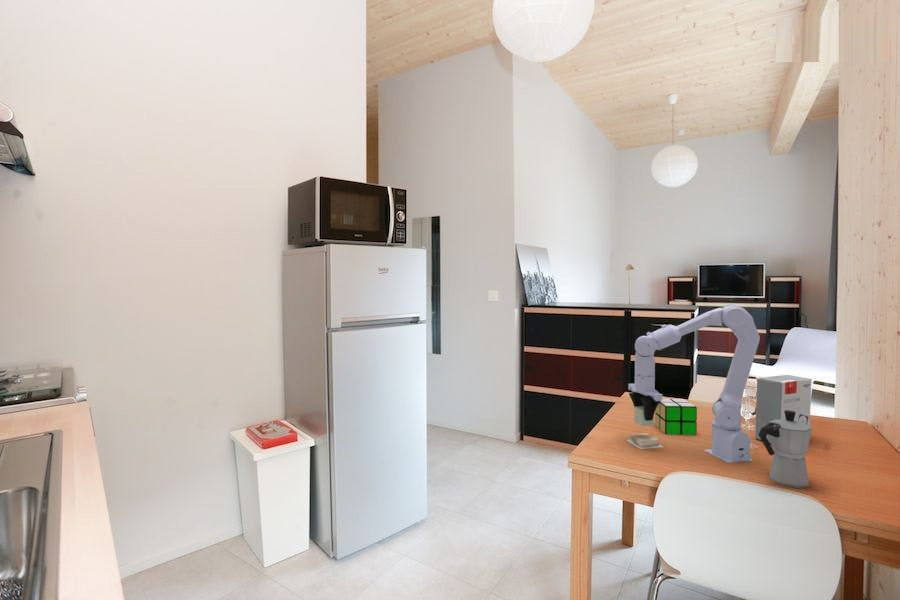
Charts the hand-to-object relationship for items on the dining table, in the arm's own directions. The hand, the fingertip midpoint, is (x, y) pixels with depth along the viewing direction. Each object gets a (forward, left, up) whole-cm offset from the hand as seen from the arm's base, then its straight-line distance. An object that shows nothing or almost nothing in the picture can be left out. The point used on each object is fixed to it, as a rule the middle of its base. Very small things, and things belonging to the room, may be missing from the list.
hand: (644, 417), depth 139 cm
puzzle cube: (+9, -18, -9) cm, 22 cm away
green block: (0, 0, -2) cm, 2 cm away
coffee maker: (-30, -20, -9) cm, 37 cm away
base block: (0, 0, -8) cm, 8 cm away
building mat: (-1, -3, -8) cm, 9 cm away
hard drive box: (-5, -46, -9) cm, 47 cm away
